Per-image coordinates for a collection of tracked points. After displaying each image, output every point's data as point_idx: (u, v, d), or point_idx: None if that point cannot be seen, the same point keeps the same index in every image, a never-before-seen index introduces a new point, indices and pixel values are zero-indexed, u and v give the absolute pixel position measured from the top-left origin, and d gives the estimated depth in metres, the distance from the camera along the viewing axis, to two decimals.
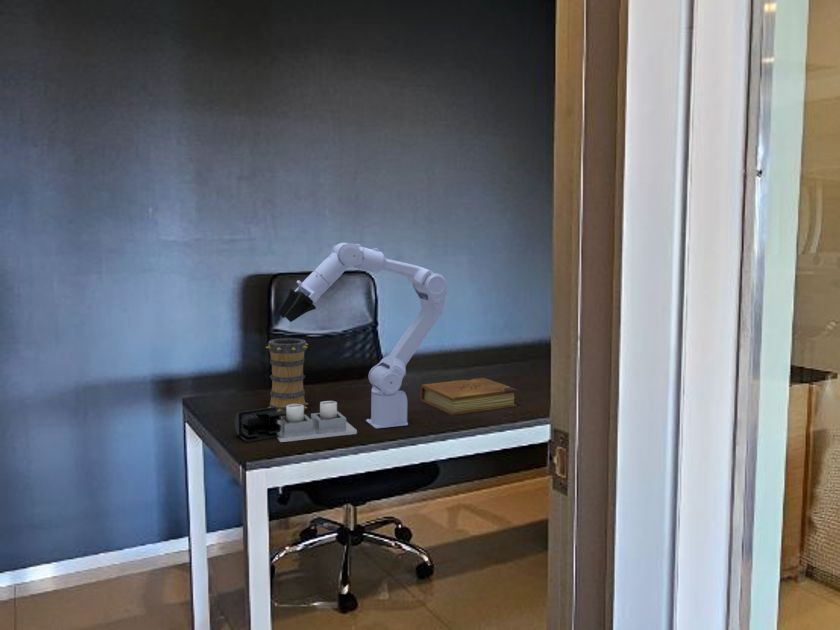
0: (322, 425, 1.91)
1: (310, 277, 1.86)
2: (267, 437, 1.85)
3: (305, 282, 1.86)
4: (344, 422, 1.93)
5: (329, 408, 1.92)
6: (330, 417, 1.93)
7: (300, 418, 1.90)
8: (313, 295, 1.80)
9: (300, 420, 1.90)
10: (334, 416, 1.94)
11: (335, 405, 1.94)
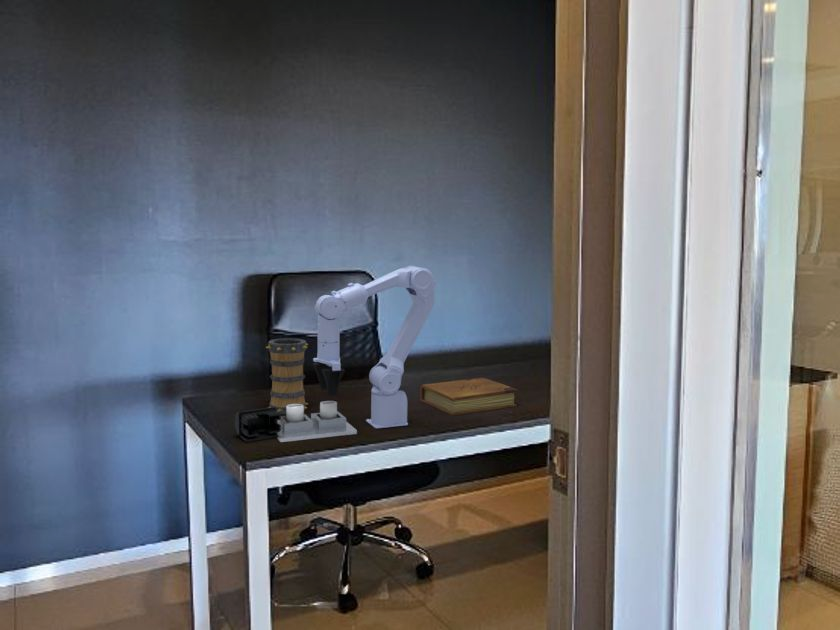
0: (322, 425, 1.91)
1: (320, 349, 1.90)
2: (267, 437, 1.85)
3: (319, 356, 1.91)
4: (344, 422, 1.93)
5: (329, 408, 1.92)
6: (330, 417, 1.93)
7: (300, 418, 1.90)
8: (334, 366, 1.86)
9: (300, 420, 1.90)
10: (334, 416, 1.94)
11: (335, 405, 1.94)
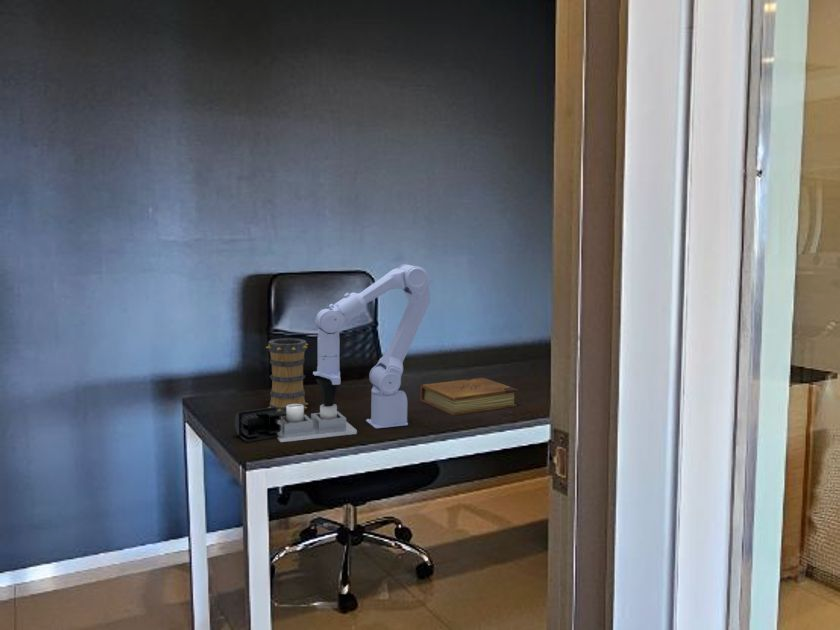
0: (322, 425, 1.91)
1: (319, 363, 1.91)
2: (267, 437, 1.85)
3: (319, 370, 1.91)
4: (344, 422, 1.93)
5: (329, 411, 1.93)
6: None
7: (300, 418, 1.90)
8: (334, 380, 1.87)
9: (300, 420, 1.90)
10: None
11: (335, 408, 1.94)
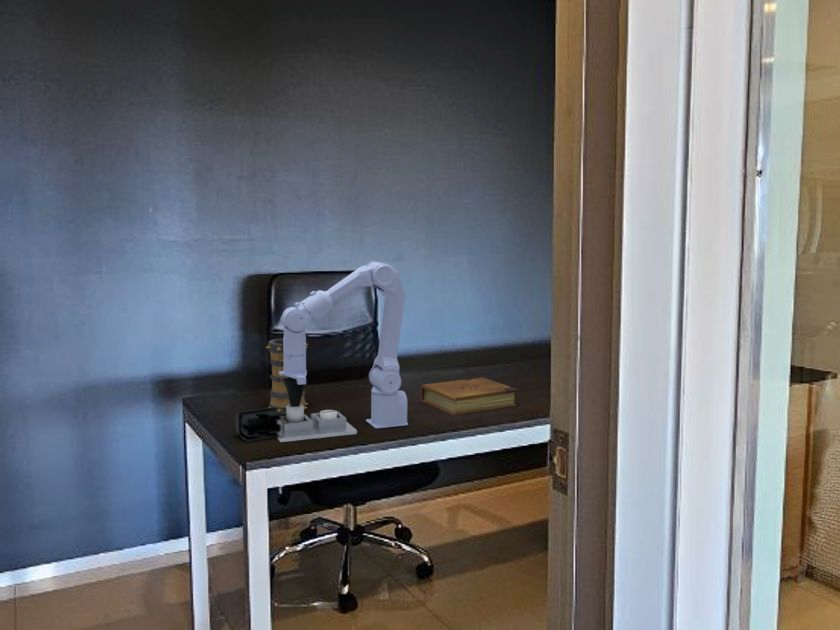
0: (322, 425, 1.91)
1: (285, 363, 1.87)
2: (267, 437, 1.85)
3: (285, 369, 1.87)
4: (344, 422, 1.93)
5: (329, 418, 1.93)
6: None
7: (300, 419, 1.90)
8: (300, 380, 1.83)
9: (300, 420, 1.90)
10: None
11: (335, 414, 1.94)
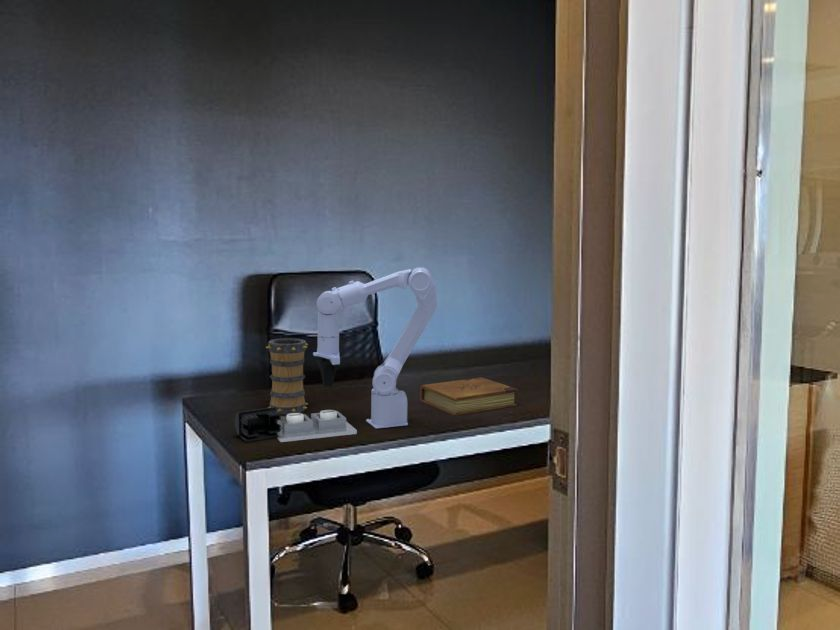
0: (322, 425, 1.91)
1: (319, 344, 1.95)
2: (267, 437, 1.85)
3: (319, 350, 1.96)
4: (344, 422, 1.93)
5: (329, 418, 1.93)
6: None
7: None
8: (334, 360, 1.91)
9: None
10: None
11: (335, 414, 1.94)
